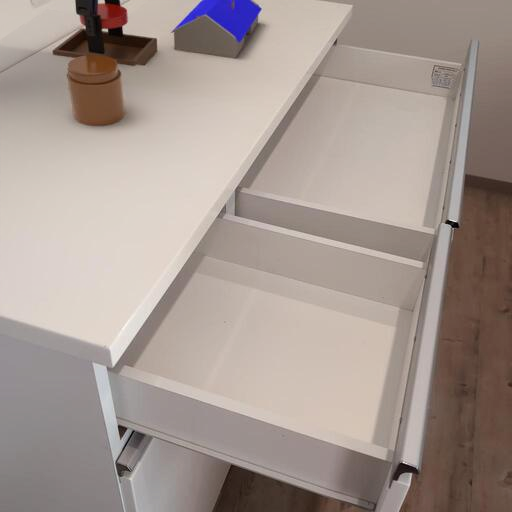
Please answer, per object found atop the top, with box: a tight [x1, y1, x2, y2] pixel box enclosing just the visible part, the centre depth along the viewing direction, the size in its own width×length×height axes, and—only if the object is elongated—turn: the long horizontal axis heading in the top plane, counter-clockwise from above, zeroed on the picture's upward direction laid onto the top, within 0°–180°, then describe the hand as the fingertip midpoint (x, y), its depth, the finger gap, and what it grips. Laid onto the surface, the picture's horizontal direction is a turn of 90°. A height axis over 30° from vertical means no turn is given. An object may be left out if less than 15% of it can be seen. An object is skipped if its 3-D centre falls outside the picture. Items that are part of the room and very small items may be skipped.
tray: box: [51, 27, 158, 67], centre depth 102 cm, size 15×12×2 cm
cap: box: [78, 2, 129, 30], centre depth 98 cm, size 8×8×2 cm
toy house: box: [170, 0, 263, 59], centre depth 113 cm, size 22×14×7 cm, turn 168°
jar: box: [66, 55, 126, 127], centre depth 80 cm, size 8×8×10 cm
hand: (106, 43), depth 101 cm, fingers closed on cap, 8 cm apart
